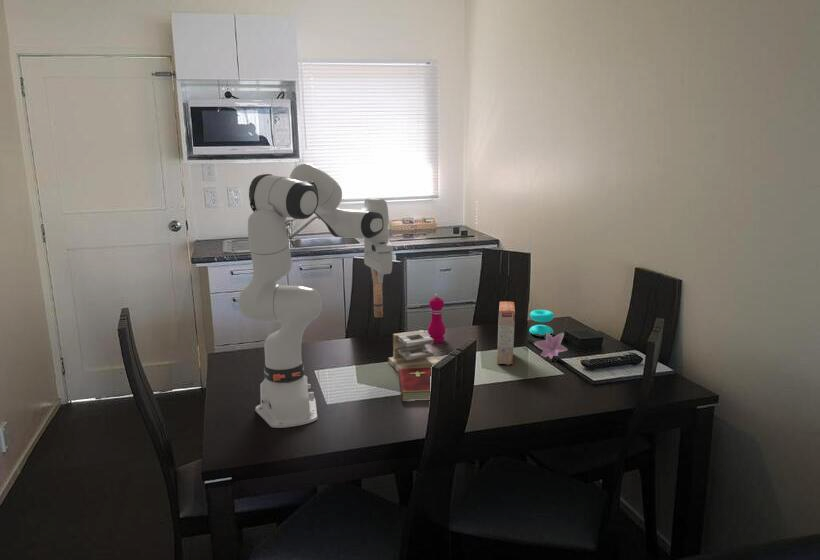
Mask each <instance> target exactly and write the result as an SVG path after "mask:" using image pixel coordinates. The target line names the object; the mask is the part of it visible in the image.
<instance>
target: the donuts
mask: <svg viewBox="0 0 820 560" xmlns="http://www.w3.org/2000/svg"><path fill="white" fill-rule="evenodd" d="M554 317H555V314H554V312H553V311H551V310H547V309H535V310H531V311H530V312H529V318H530V319H531V320H533V321H534V322H538V323H548V322H551V321H552V320H554ZM529 332H530V333H532V334H539V335H545V334H547V332H548V333H550V334H551V333H553V334H554V330H553V328H552V327H551V326H549V325H545V324H534V325H532V326H530V328H529ZM530 333H529V334H530Z"/></svg>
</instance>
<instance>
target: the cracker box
mask: <svg viewBox="0 0 820 560" xmlns="http://www.w3.org/2000/svg"><path fill="white" fill-rule="evenodd" d="M498 308H499V309H498V323H497V327H498V328H497V329H498V330H497V357H496V358H497V361H496V362H497V365H498V364H512V365H514V363H513V362H514V361H513V360H514V359H513V358H514V344H515V343H514V342H515V322H516V321H515V319H516V317H515V316H516V309H515V302H514V301H499V307H498Z"/></svg>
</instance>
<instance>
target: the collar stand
mask: <svg viewBox="0 0 820 560" xmlns="http://www.w3.org/2000/svg"><path fill="white" fill-rule="evenodd" d="M429 336H430V335H429V334H427V333H426V331H425V330H423V329H419V330H413V331H406V332H405V331H404V332H397V333H392V348H393V349H392V350H393V352H392V354H393V355H392V356H391V357H388V362H387V363H389V365H390V366H392V368H394V370H396V372H398V373H399V369H400V368H422V367H432V365H434V364H435V363H436V362H438V361H440V360H439V359H438V358H436V357H435V356H434V355H435V354H434V353H435V352H433V350H431V349H430V348H428V347H427V346H426V345H432V344H435V343H434V339H432V338H431V337H429Z"/></svg>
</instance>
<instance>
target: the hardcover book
mask: <svg viewBox="0 0 820 560" xmlns="http://www.w3.org/2000/svg"><path fill="white" fill-rule="evenodd" d="M430 376H431V367H422V368H400V369H399V372H398V378H399V388H400V396H401V401H402V400H409V399H426V398H427V399H429V396H430Z"/></svg>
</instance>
